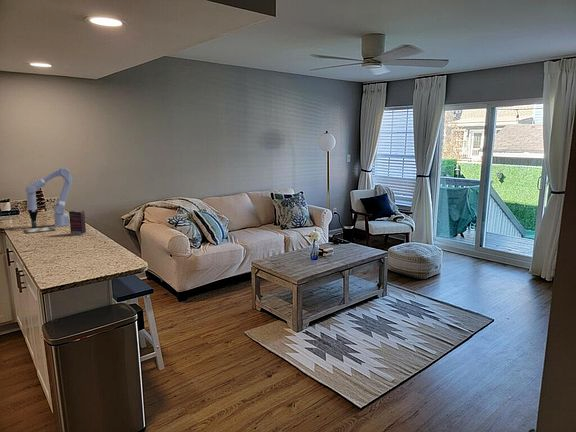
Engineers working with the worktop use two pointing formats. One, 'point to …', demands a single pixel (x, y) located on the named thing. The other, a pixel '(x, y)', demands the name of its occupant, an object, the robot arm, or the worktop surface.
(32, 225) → the marker
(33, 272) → the worktop surface
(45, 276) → the worktop surface
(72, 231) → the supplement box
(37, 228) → the clipboard
